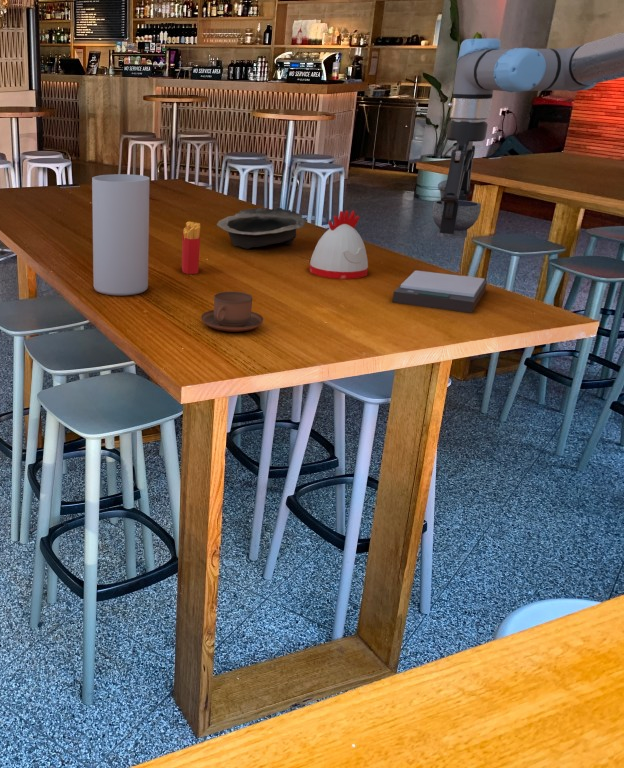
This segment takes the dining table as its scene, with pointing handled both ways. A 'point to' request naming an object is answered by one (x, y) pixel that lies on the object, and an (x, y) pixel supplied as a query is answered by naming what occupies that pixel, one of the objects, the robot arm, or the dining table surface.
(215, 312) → the cup and saucer
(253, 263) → the dining table surface
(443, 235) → the mortar and pestle
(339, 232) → the kitchen timer
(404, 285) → the kitchen scale
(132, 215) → the cylinder vase
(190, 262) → the french fries
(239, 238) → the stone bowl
